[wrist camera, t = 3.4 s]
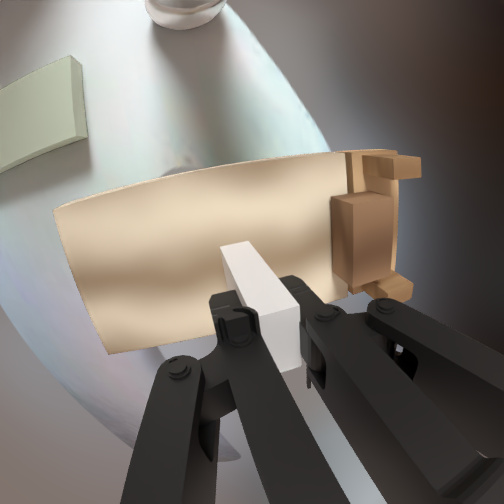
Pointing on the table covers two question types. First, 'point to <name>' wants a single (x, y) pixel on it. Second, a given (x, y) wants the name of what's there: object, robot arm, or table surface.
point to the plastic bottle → (183, 12)
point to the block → (362, 236)
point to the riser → (41, 112)
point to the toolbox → (384, 182)
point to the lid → (197, 242)
